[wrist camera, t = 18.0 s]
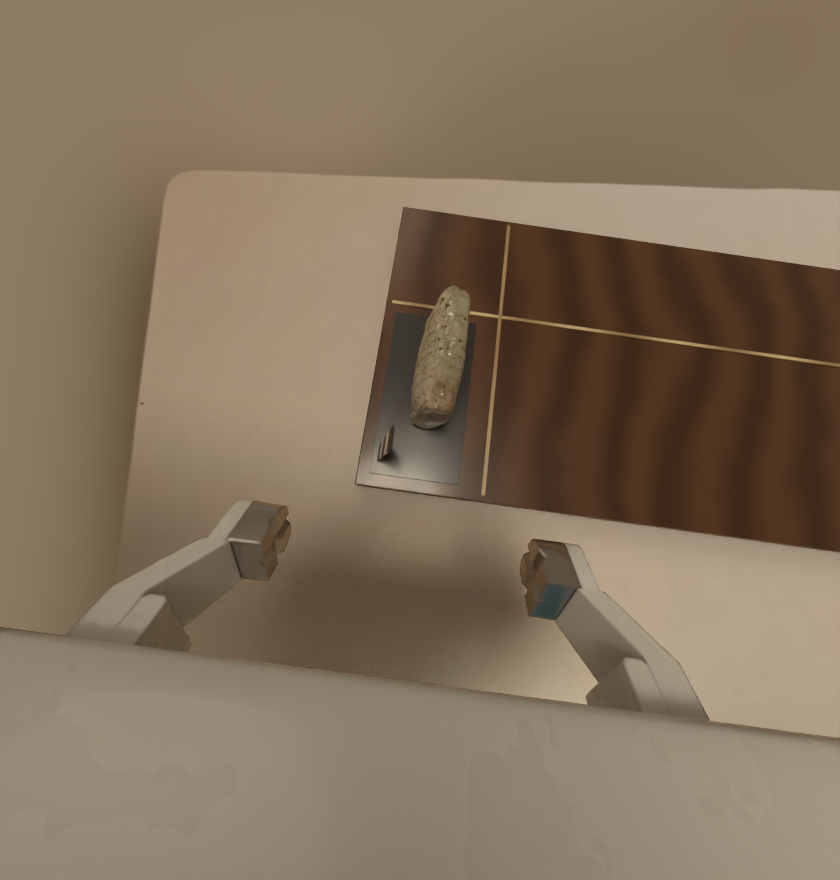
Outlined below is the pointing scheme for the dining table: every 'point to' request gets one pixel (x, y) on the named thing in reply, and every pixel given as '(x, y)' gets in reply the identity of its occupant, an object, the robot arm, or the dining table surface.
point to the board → (617, 381)
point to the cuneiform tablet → (438, 364)
